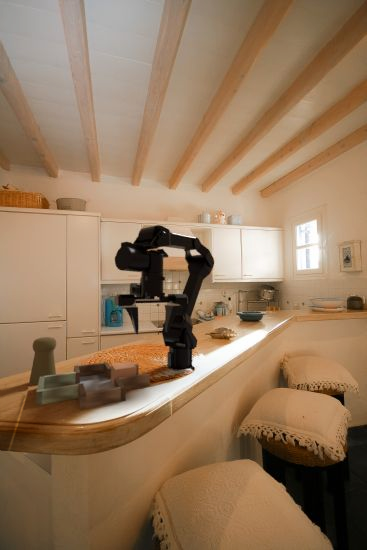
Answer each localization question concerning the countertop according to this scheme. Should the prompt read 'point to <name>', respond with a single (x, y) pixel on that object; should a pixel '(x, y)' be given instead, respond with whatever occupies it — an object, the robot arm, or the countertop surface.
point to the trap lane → (88, 386)
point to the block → (122, 370)
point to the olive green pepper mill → (43, 359)
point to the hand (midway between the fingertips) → (152, 332)
